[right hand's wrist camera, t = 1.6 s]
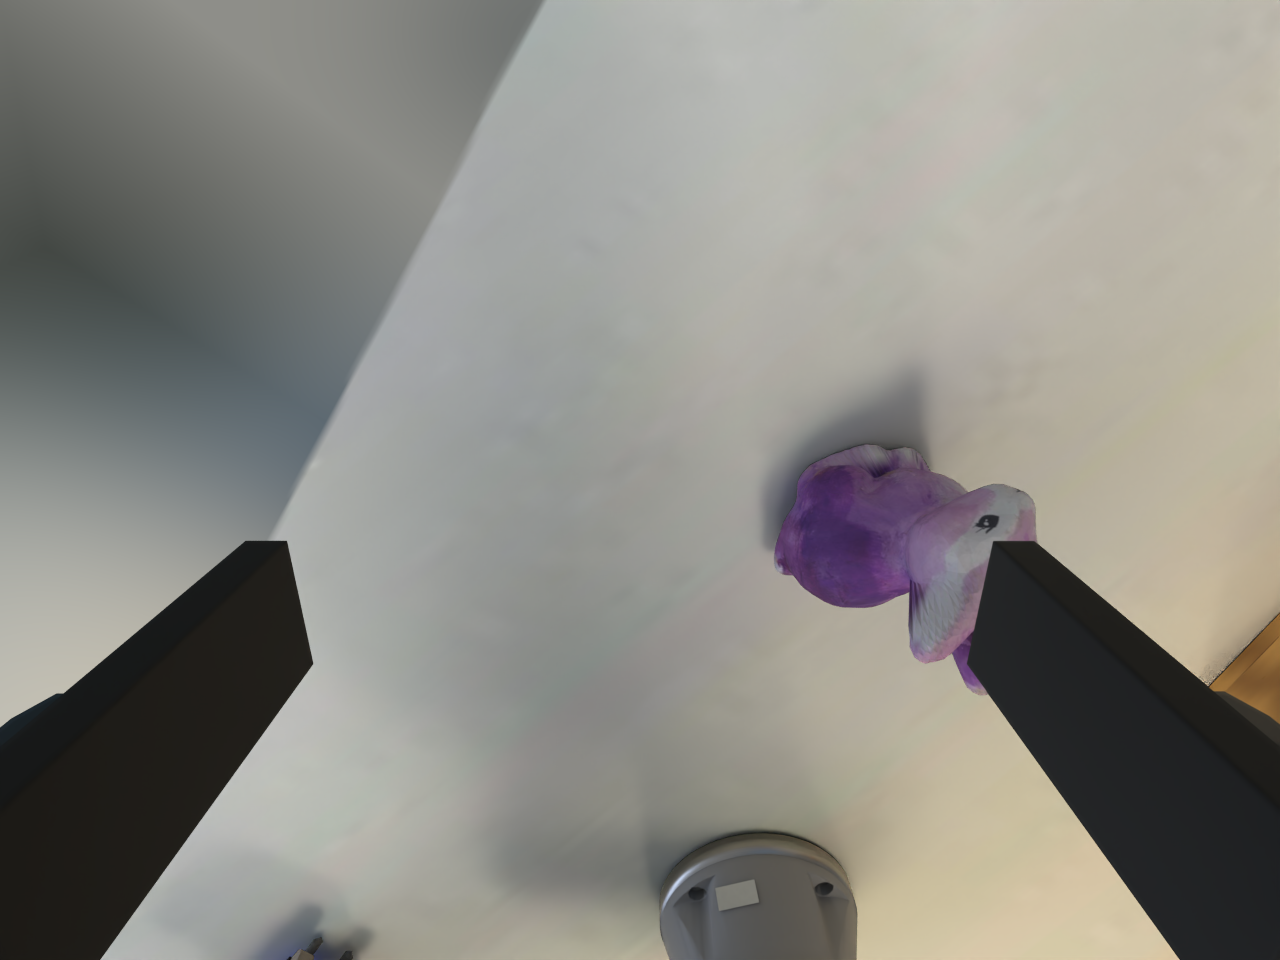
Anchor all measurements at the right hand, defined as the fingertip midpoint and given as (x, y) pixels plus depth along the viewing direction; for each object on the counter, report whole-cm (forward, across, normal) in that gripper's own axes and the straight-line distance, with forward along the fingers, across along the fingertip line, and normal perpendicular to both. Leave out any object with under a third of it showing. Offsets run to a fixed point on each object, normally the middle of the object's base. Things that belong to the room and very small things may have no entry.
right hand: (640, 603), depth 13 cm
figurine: (+27, -13, +9) cm, 31 cm away
